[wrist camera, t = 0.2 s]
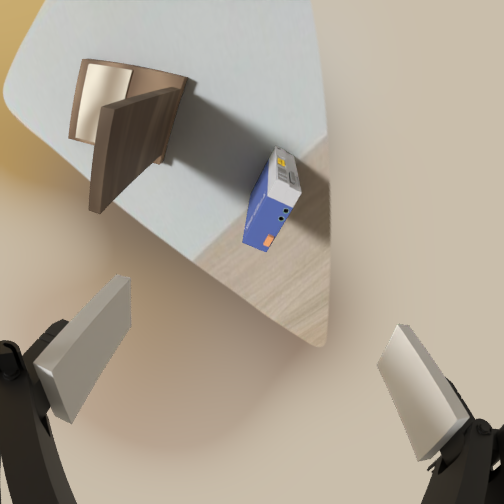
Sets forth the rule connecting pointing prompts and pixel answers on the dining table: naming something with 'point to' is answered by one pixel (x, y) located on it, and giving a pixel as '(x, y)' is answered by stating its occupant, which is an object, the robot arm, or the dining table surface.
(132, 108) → the book end
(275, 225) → the walkman
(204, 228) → the dining table surface
